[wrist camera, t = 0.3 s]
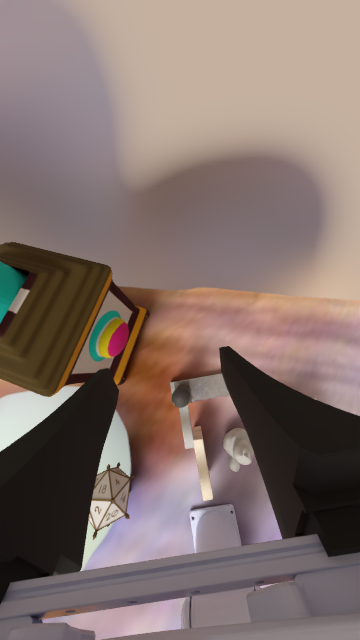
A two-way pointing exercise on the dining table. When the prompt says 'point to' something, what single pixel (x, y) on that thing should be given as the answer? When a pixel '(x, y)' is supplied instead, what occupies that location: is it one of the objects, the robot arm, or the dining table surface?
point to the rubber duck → (238, 448)
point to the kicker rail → (205, 387)
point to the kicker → (192, 435)
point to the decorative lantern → (61, 320)
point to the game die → (109, 498)
